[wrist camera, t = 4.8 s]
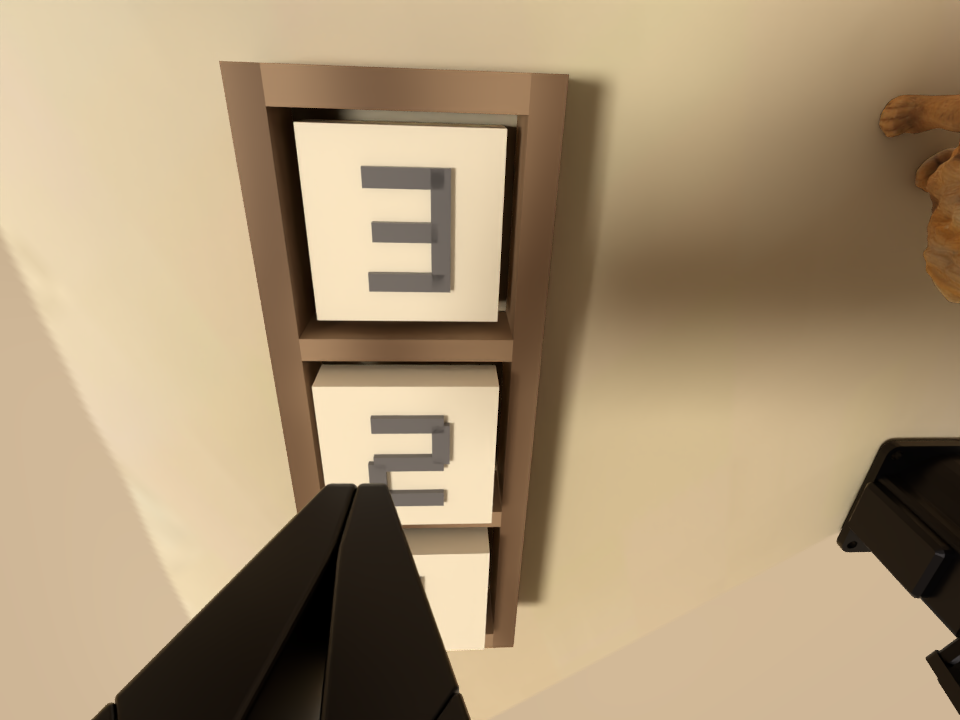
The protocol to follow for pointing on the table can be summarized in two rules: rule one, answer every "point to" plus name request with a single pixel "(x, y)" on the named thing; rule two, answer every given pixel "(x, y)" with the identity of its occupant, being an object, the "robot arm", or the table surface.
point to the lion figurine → (935, 181)
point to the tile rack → (307, 341)
